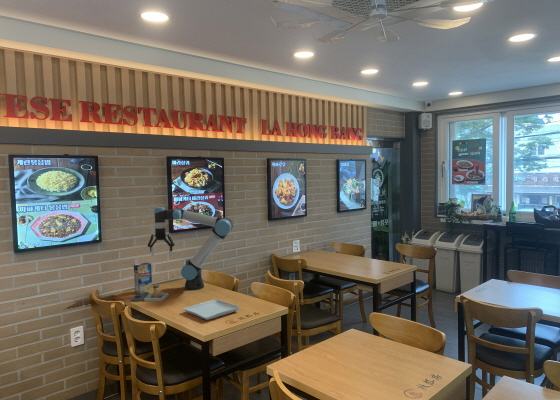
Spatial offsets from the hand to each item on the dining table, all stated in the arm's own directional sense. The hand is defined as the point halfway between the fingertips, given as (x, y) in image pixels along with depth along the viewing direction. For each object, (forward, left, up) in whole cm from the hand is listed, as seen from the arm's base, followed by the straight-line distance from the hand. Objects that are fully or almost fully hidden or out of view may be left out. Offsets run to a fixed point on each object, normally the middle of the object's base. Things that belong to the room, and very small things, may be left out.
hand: (161, 255), depth 308 cm
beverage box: (+16, -2, -29) cm, 33 cm away
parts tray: (0, +15, -29) cm, 32 cm away
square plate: (-48, +44, -29) cm, 71 cm away
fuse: (+12, +10, -28) cm, 32 cm away
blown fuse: (0, +15, -28) cm, 32 cm away
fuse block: (+12, +14, -29) cm, 34 cm away
